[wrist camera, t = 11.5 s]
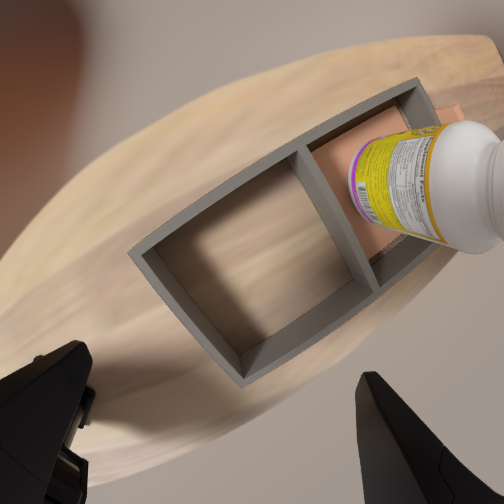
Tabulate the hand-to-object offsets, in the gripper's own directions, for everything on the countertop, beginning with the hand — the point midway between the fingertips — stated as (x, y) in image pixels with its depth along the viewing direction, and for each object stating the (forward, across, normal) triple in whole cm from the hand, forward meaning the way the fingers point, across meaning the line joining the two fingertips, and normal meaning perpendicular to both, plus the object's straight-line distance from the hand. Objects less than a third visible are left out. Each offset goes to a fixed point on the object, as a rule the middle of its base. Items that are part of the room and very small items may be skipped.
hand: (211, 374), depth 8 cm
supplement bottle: (+15, -9, -4) cm, 18 cm away
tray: (+14, -5, -1) cm, 15 cm away
